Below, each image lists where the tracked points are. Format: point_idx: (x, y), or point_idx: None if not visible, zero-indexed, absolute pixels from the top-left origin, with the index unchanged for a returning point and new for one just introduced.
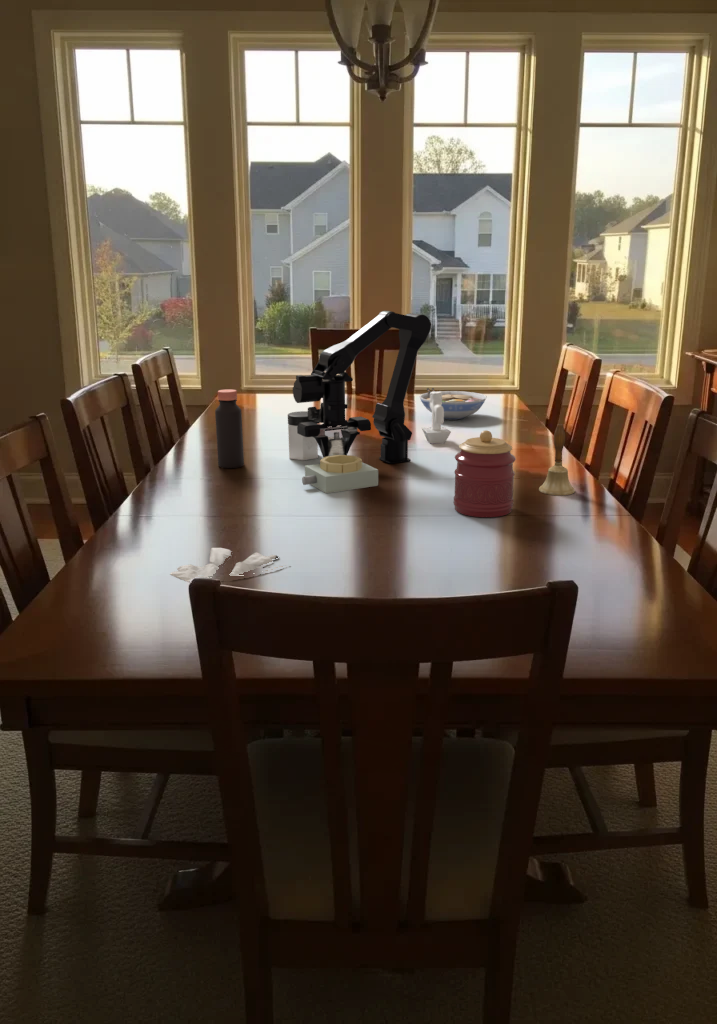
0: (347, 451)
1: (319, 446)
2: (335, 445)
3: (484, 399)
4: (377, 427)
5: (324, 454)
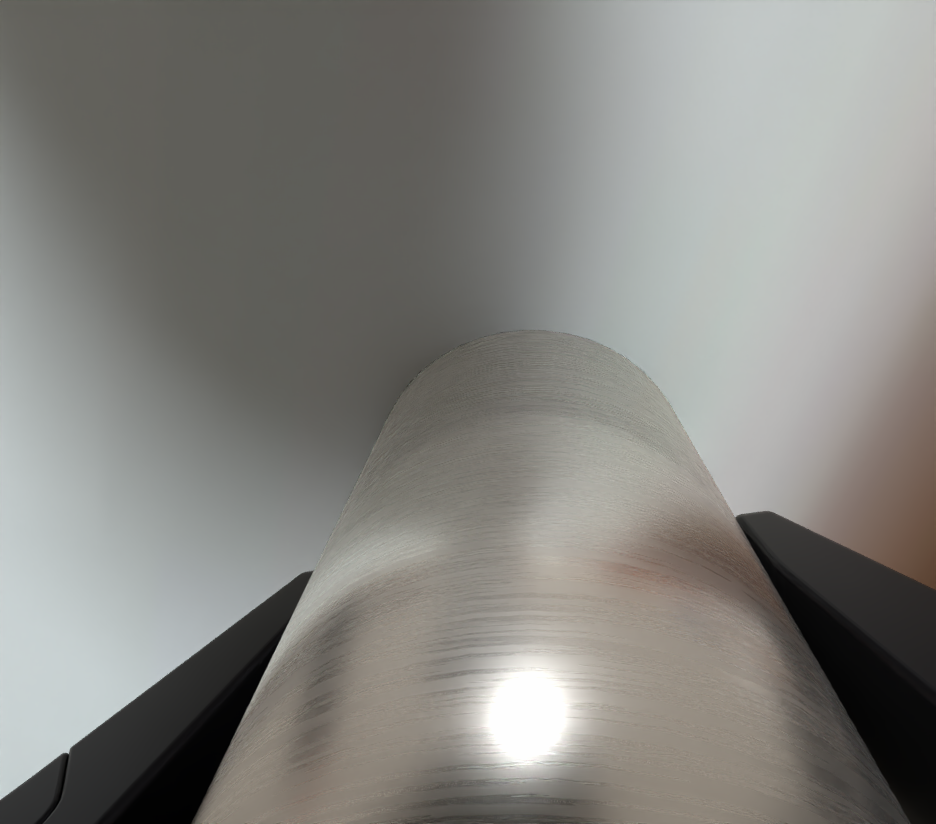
0: None
1: (35, 808)
2: None
3: None
4: None
5: None
